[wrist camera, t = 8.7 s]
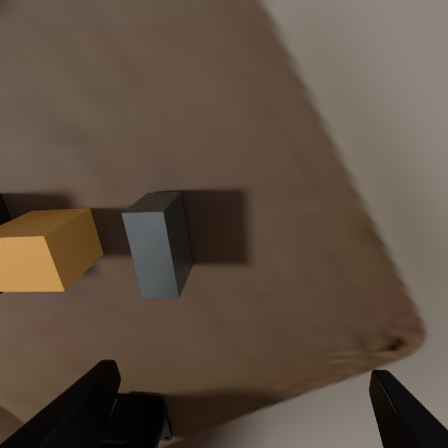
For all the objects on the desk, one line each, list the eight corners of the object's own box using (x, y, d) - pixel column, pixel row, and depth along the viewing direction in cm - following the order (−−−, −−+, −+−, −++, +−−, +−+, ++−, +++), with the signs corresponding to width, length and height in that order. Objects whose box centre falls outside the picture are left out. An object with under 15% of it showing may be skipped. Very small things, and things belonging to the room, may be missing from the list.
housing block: (104, 253, 23) (64, 291, 18) (49, 255, 23) (-3, 291, 19) (90, 207, 21) (43, 236, 17) (32, 210, 22) (-28, 238, 17)
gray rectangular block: (192, 265, 22) (179, 298, 18) (162, 266, 22) (142, 298, 18) (181, 191, 19) (163, 211, 16) (147, 193, 20) (121, 213, 16)
